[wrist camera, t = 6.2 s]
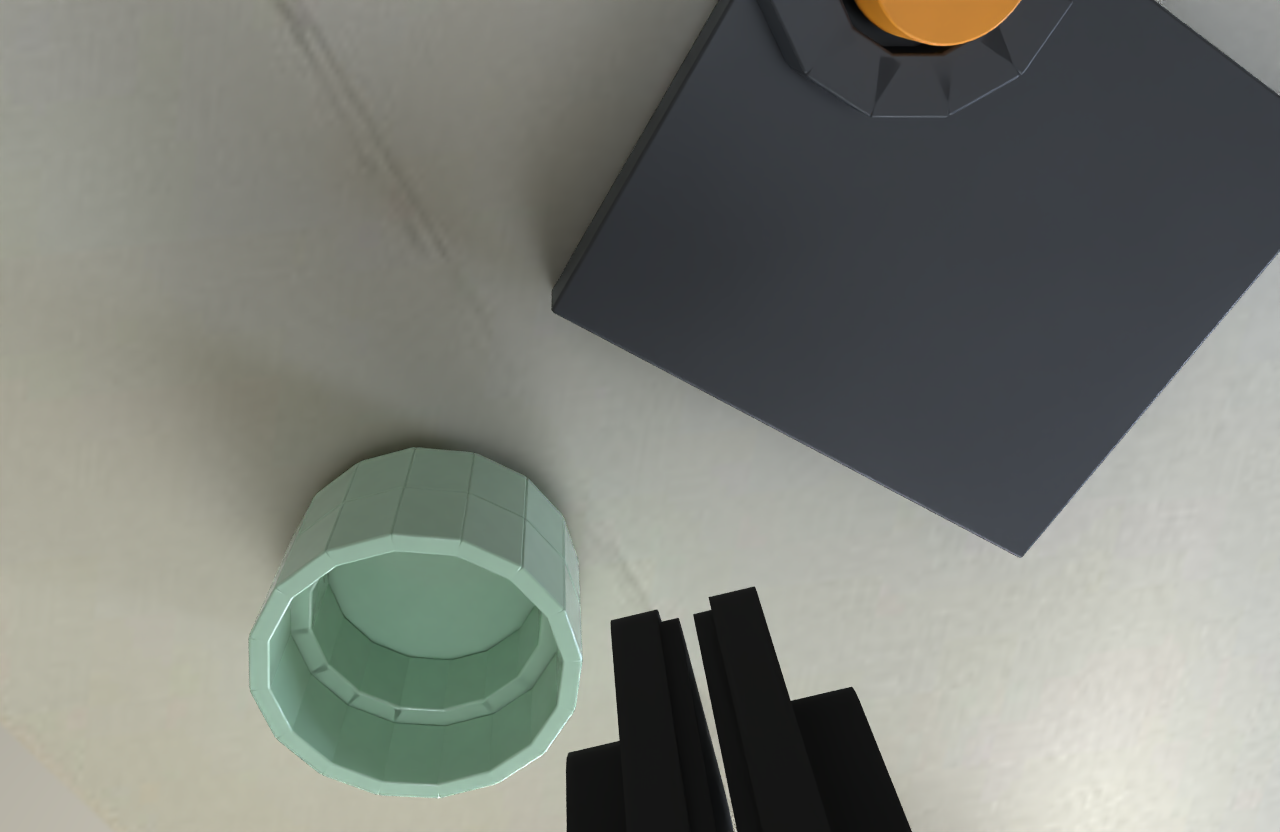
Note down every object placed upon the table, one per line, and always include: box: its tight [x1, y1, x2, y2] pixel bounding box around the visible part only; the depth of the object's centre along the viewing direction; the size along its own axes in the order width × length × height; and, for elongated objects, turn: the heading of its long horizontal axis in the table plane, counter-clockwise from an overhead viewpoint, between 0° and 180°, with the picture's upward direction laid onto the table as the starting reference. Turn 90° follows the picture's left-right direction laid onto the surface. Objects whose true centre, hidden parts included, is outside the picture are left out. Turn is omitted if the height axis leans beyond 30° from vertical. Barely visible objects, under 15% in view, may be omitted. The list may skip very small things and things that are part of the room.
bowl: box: [249, 447, 583, 798], centre depth 25 cm, size 7×7×5 cm
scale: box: [552, 0, 1280, 558], centre depth 22 cm, size 14×13×3 cm
